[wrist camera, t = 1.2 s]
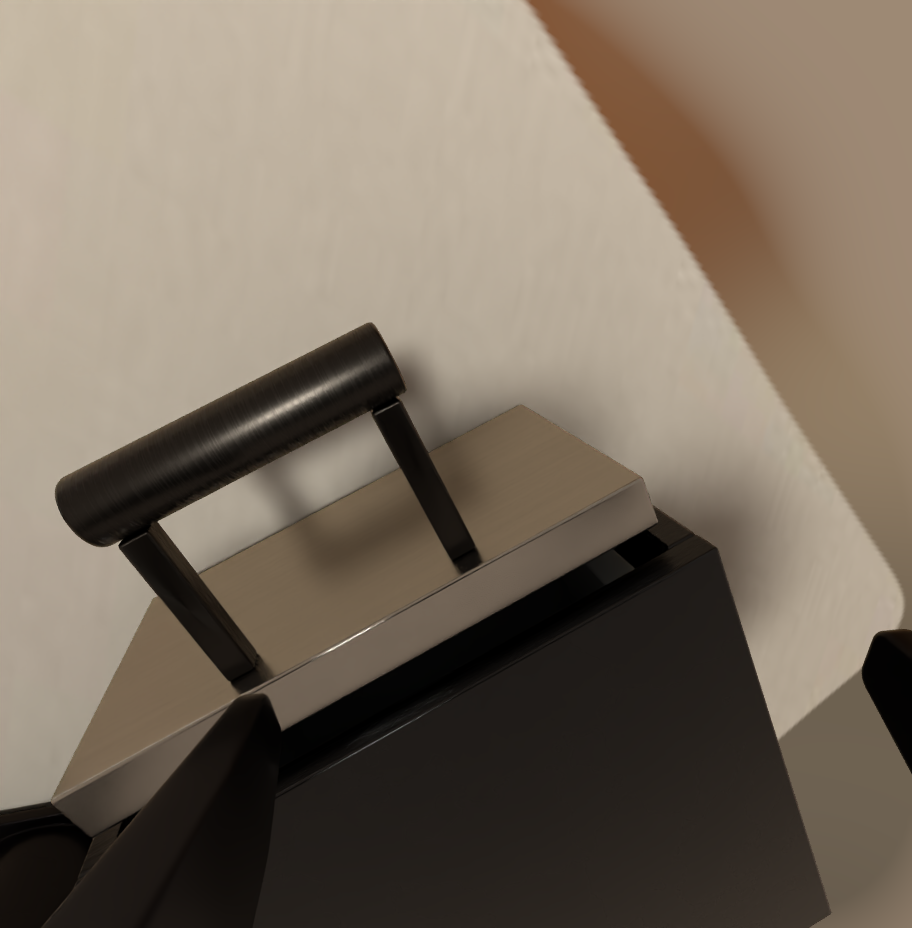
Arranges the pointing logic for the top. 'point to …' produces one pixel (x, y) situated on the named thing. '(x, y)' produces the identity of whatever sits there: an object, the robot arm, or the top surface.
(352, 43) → the top surface
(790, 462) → the top surface
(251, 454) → the dish drawer
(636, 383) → the top surface
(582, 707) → the small drawer cabinet
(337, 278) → the top surface
